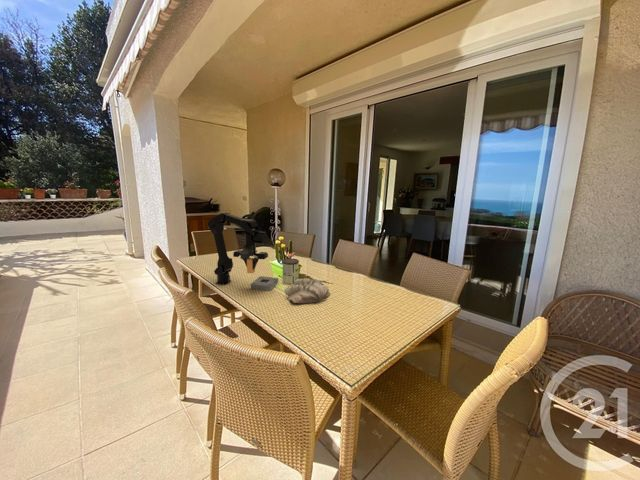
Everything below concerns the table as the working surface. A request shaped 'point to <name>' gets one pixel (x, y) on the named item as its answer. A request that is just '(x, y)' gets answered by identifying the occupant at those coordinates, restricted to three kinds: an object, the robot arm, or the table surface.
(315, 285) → the seashell
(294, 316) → the table surface
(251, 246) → the robot arm
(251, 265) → the tall orange box
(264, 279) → the rosette plate
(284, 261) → the coffee can
